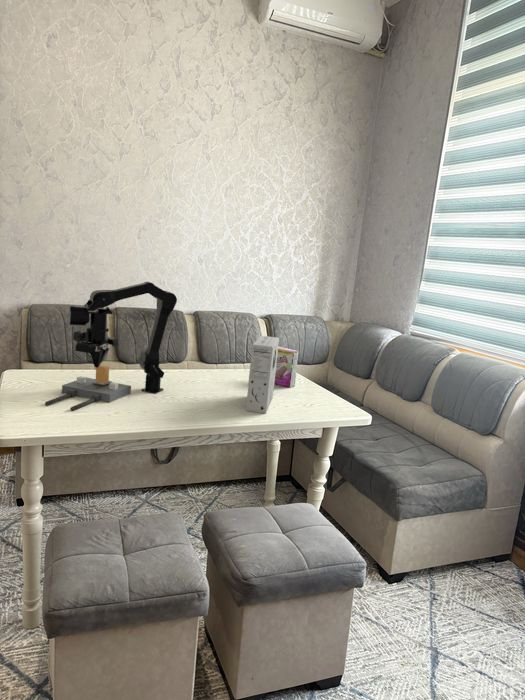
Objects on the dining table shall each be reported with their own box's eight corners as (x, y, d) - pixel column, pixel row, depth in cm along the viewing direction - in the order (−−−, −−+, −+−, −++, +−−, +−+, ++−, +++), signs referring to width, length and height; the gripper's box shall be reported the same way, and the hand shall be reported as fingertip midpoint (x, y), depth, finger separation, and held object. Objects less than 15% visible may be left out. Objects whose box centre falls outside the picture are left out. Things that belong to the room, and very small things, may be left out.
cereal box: (254, 395, 207) (260, 335, 203) (272, 397, 206) (279, 337, 202) (245, 410, 186) (252, 344, 181) (266, 413, 185) (273, 346, 181)
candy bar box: (268, 382, 229) (272, 347, 226) (274, 381, 233) (277, 346, 230) (289, 388, 224) (293, 352, 220) (295, 386, 228) (299, 350, 225)
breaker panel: (85, 384, 199) (85, 372, 198) (130, 393, 194) (131, 380, 193) (58, 394, 184) (58, 381, 183) (106, 404, 178) (107, 390, 177)
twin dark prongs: (73, 394, 185) (73, 391, 185) (100, 400, 182) (100, 396, 182) (43, 405, 171) (44, 401, 170) (72, 411, 168) (73, 407, 167)
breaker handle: (100, 380, 195) (100, 364, 194) (111, 382, 193) (112, 366, 192) (92, 383, 190) (92, 366, 189) (103, 385, 189) (104, 368, 188)
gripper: (94, 320, 195) (92, 359, 198) (62, 325, 177) (61, 368, 180) (119, 324, 192) (117, 364, 195) (90, 329, 174) (88, 373, 177)
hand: (96, 367), depth 187 cm, fingers closed
